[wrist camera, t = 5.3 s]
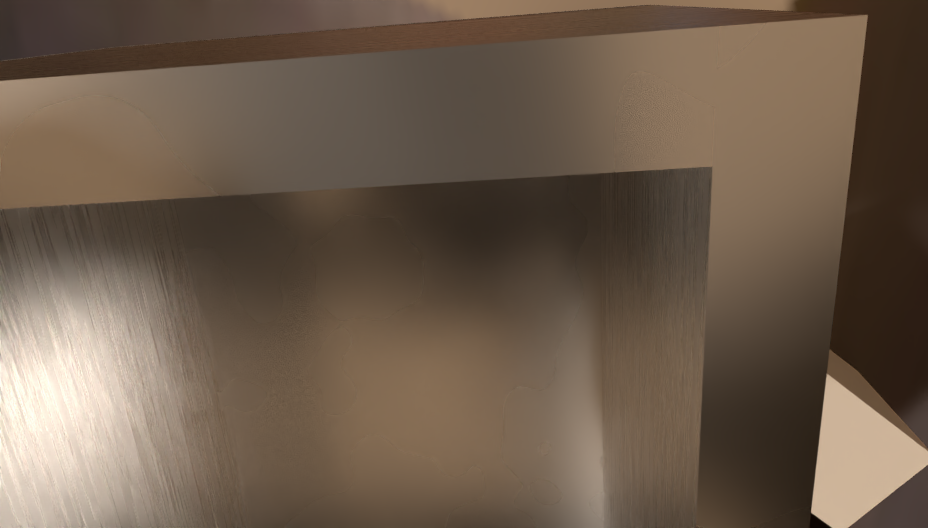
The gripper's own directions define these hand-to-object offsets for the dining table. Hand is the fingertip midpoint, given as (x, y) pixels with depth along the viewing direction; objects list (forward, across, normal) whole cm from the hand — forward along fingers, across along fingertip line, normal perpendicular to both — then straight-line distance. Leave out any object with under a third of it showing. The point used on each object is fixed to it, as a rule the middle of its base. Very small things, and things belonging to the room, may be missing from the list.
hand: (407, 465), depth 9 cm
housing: (+1, 0, 0) cm, 1 cm away
